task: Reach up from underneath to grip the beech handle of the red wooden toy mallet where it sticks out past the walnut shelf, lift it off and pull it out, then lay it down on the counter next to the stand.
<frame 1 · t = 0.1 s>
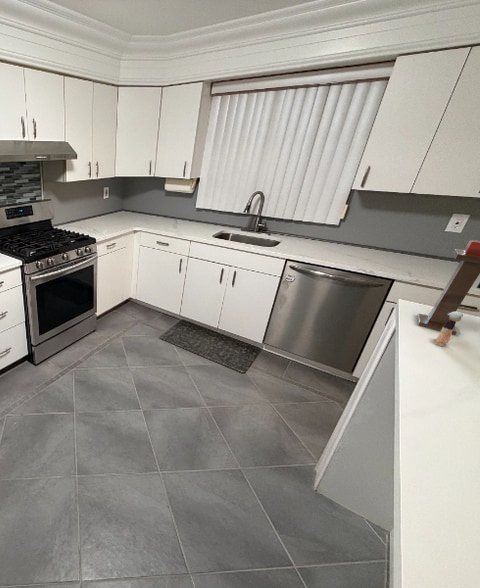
hand: (476, 283, 118), 17 cm above the countertop, tool pointing down, fingers open, 13 cm apart
shelf stand: (434, 323, 123), on the countertop
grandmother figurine: (438, 343, 111), on the countertop
toy mallet: (476, 254, 110), point 29 cm above the countertop, touching shelf stand
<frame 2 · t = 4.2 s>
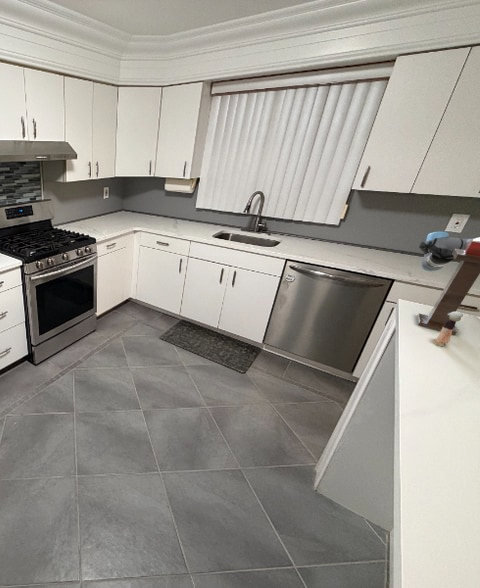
hand: (457, 244, 133), 26 cm above the countertop, tool pointing upward, fingers open, 13 cm apart
nothing on the countertop moved.
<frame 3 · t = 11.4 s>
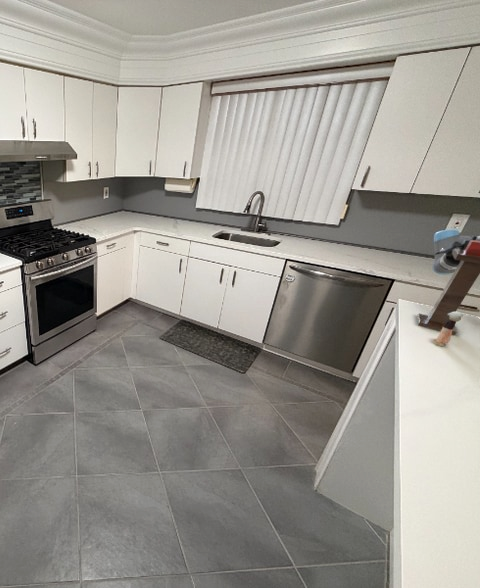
toy mallet: (476, 254, 110), point 29 cm above the countertop, touching gripper, shelf stand
everything else where it was.
when the fingers open (7 cm above the countertop, at t = 22.1 s): toy mallet moves 1 cm, on the countertop.
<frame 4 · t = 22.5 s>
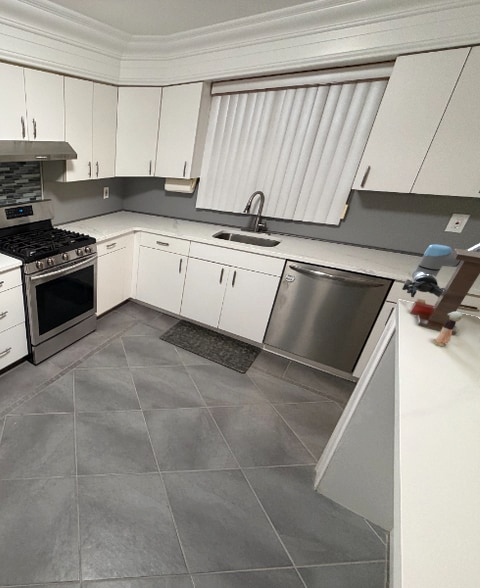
hand: (427, 297, 129), 7 cm above the countertop, tool horizontal, fingers open, 8 cm apart
toy mallet: (419, 314, 130), on the countertop
everything else where it was.
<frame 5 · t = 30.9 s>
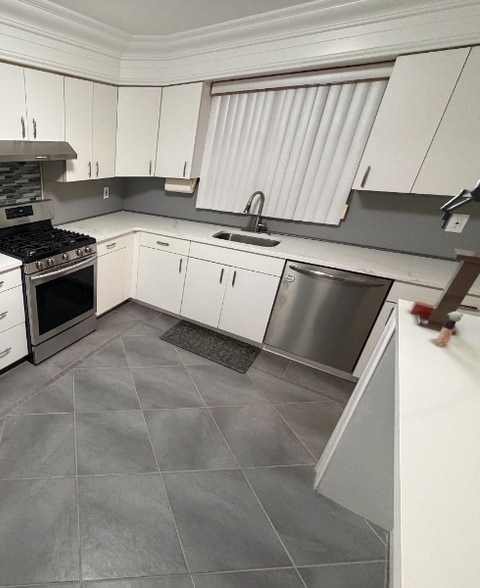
hand: (464, 230, 132), 32 cm above the countertop, tool pointing down, fingers open, 13 cm apart
nothing on the countertop moved.
at the end: toy mallet inside the target area (1.7 cm from its centre), on the countertop; toy mallet on the countertop; the gripper is holding nothing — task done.
